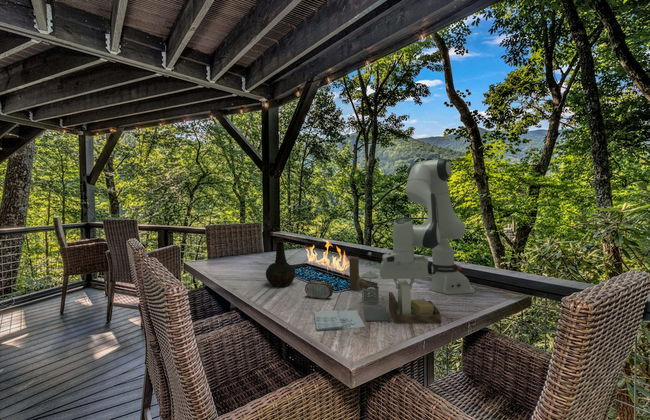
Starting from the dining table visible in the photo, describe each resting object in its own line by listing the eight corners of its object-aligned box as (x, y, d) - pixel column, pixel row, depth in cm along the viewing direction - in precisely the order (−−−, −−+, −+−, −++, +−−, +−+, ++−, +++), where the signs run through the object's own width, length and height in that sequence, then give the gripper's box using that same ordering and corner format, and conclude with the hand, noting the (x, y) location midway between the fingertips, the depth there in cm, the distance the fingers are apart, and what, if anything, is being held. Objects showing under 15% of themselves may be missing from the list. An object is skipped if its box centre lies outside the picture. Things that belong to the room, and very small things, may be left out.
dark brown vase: (280, 279, 203) (279, 235, 202) (301, 282, 192) (300, 237, 191) (259, 285, 188) (258, 238, 187) (281, 290, 178) (280, 240, 177)
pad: (385, 309, 144) (385, 308, 144) (390, 321, 130) (390, 320, 130) (363, 309, 144) (363, 308, 144) (365, 321, 130) (365, 320, 130)
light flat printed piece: (313, 314, 141) (313, 310, 141) (358, 312, 142) (358, 307, 142) (315, 332, 122) (315, 327, 122) (367, 330, 123) (367, 324, 123)
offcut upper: (424, 305, 140) (423, 298, 140) (433, 312, 131) (433, 305, 131) (411, 306, 139) (411, 299, 139) (420, 313, 131) (420, 306, 130)
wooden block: (367, 289, 176) (366, 256, 176) (366, 291, 172) (365, 258, 171) (351, 288, 179) (350, 256, 178) (349, 290, 174) (349, 258, 174)
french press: (376, 308, 145) (375, 254, 144) (353, 304, 151) (352, 252, 150) (384, 302, 153) (383, 251, 152) (362, 299, 159) (361, 249, 158)
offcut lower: (426, 312, 140) (425, 305, 140) (433, 320, 131) (432, 313, 131) (412, 312, 140) (412, 306, 140) (418, 320, 131) (418, 313, 131)
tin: (333, 298, 161) (332, 282, 161) (330, 300, 158) (330, 283, 158) (307, 295, 167) (306, 279, 167) (304, 297, 164) (303, 281, 164)
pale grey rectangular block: (405, 310, 142) (405, 279, 141) (411, 320, 131) (410, 286, 130) (398, 310, 142) (397, 279, 141) (402, 320, 131) (402, 286, 130)
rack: (429, 308, 144) (429, 291, 143) (441, 323, 127) (440, 303, 126) (388, 308, 145) (388, 291, 145) (394, 323, 128) (394, 303, 128)
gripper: (426, 254, 138) (426, 286, 138) (378, 255, 139) (379, 286, 140) (430, 257, 131) (430, 290, 132) (380, 258, 133) (381, 290, 133)
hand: (403, 288), depth 136 cm, fingers closed on pale grey rectangular block, 3 cm apart
